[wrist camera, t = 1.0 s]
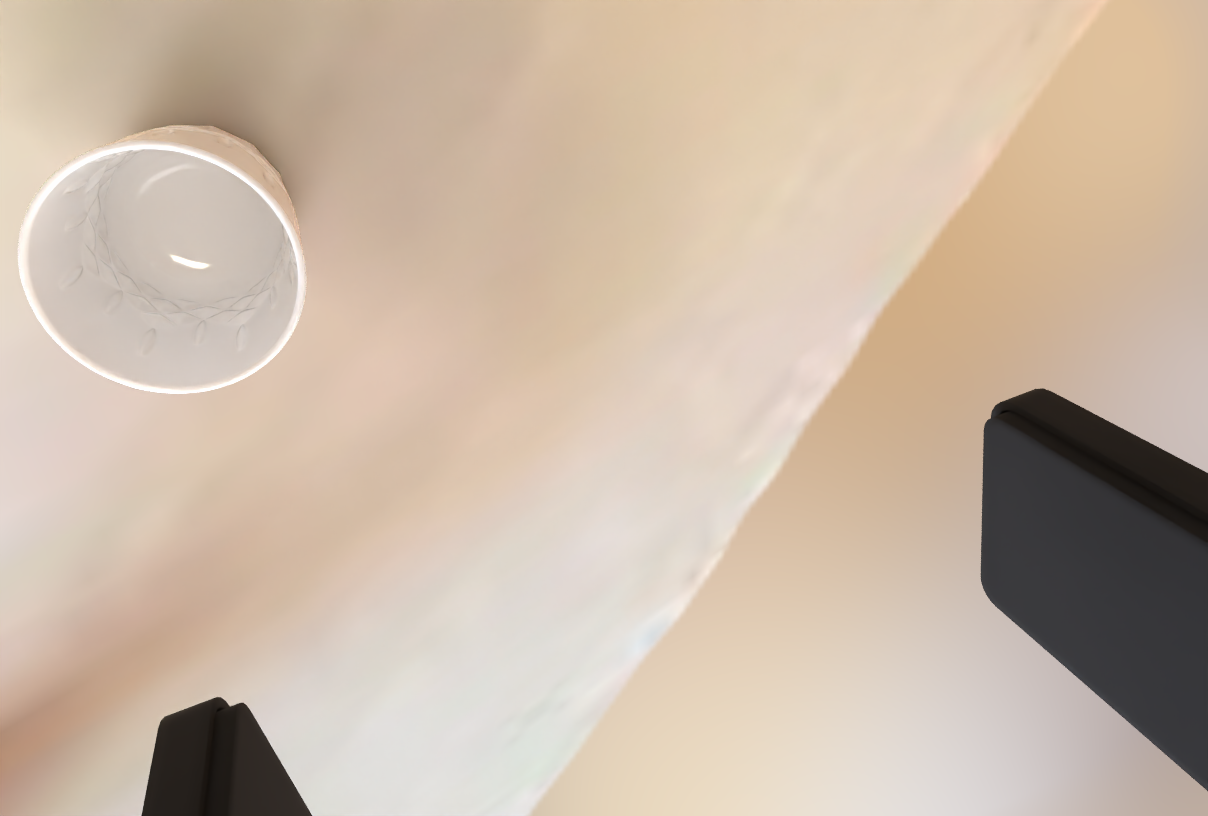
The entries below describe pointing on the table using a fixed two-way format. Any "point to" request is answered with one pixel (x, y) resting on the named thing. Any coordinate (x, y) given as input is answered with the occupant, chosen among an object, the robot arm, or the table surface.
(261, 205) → the white cup
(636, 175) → the table surface
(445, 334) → the table surface
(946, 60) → the table surface
